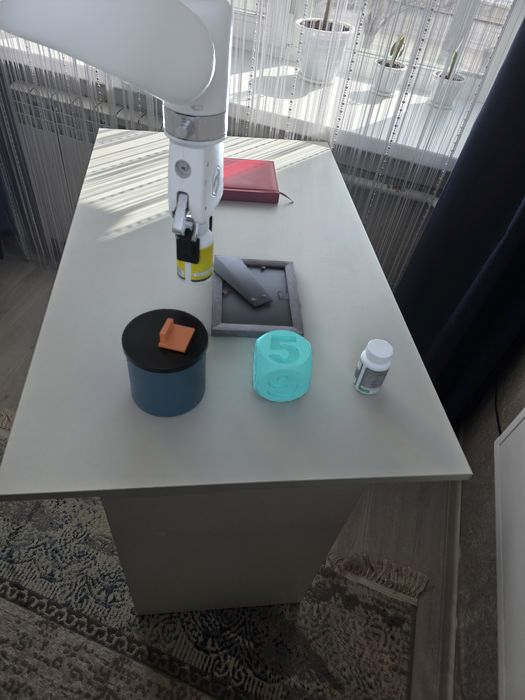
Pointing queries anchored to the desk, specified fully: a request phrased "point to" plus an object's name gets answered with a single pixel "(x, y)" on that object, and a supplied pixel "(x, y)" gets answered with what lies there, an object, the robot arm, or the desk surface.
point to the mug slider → (175, 336)
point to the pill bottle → (373, 366)
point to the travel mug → (165, 364)
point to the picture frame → (254, 297)
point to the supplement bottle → (204, 268)
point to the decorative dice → (282, 366)
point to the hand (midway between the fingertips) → (194, 248)
